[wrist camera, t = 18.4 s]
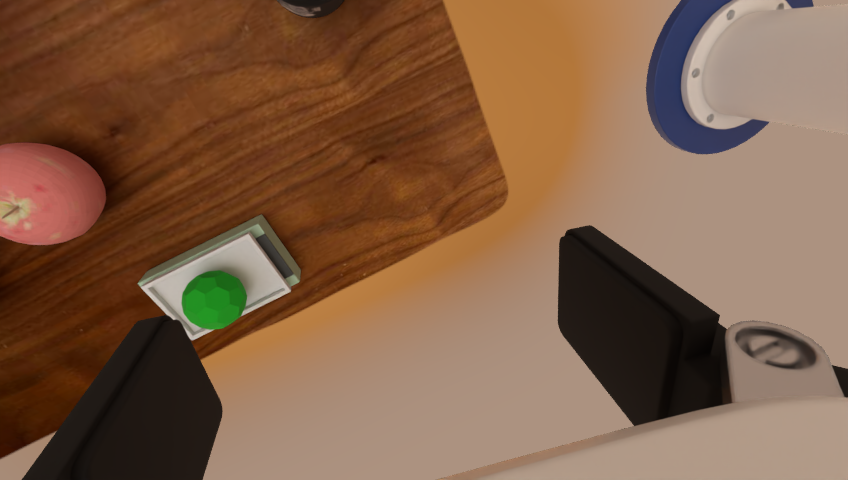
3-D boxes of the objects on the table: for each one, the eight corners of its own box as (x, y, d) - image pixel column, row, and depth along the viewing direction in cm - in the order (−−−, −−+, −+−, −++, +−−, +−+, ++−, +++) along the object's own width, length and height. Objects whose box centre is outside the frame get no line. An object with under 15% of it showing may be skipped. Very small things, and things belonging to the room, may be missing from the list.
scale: (261, 213, 38) (255, 228, 35) (301, 270, 42) (299, 288, 38) (147, 270, 38) (131, 290, 35) (195, 322, 42) (185, 345, 38)
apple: (117, 229, 36) (67, 273, 29) (15, 207, 34) (-68, 249, 27) (128, 151, 34) (75, 177, 27) (18, 120, 31) (-72, 141, 24)
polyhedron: (260, 296, 39) (252, 327, 34) (210, 315, 38) (196, 349, 34) (232, 253, 36) (220, 280, 32) (179, 273, 36) (160, 303, 32)
